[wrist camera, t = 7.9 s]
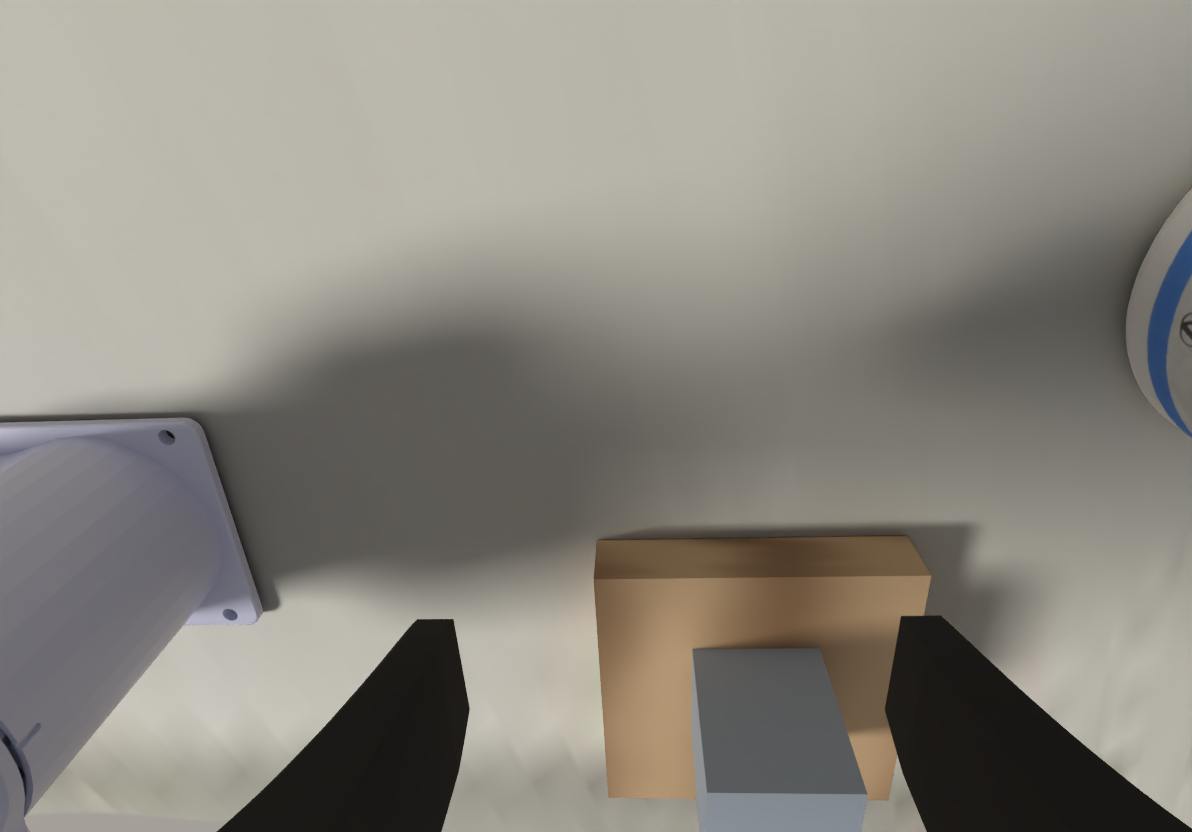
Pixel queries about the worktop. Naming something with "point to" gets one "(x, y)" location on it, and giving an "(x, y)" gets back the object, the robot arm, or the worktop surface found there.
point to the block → (771, 744)
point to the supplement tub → (1165, 320)
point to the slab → (744, 638)
